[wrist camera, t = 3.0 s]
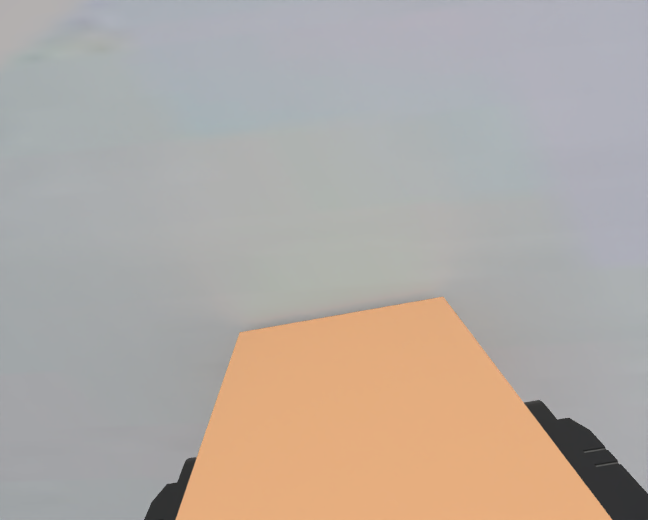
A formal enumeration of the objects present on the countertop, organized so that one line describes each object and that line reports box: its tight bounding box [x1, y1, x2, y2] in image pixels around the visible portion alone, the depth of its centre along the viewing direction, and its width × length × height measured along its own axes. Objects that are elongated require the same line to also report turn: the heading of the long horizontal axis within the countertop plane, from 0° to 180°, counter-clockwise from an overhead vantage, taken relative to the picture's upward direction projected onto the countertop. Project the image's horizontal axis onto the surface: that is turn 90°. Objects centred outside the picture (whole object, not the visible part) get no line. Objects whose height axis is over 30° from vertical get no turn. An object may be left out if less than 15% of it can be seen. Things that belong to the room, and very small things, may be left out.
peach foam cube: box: [176, 297, 612, 520], centre depth 10 cm, size 6×6×8 cm
